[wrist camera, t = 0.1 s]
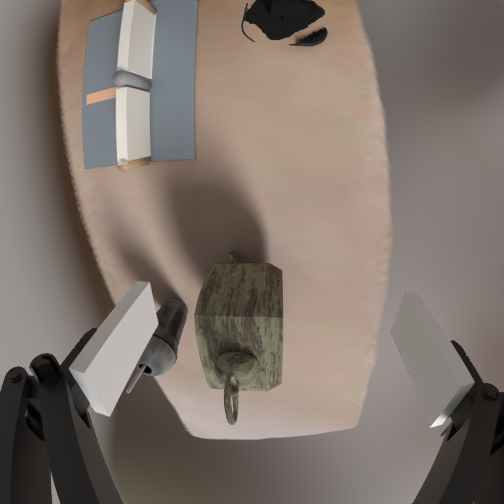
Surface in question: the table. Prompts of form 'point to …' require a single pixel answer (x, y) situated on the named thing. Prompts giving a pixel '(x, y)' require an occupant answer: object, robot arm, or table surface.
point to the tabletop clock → (240, 328)
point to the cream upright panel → (132, 128)
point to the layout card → (161, 94)
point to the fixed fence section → (135, 45)
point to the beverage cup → (163, 341)
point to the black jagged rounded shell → (286, 19)
